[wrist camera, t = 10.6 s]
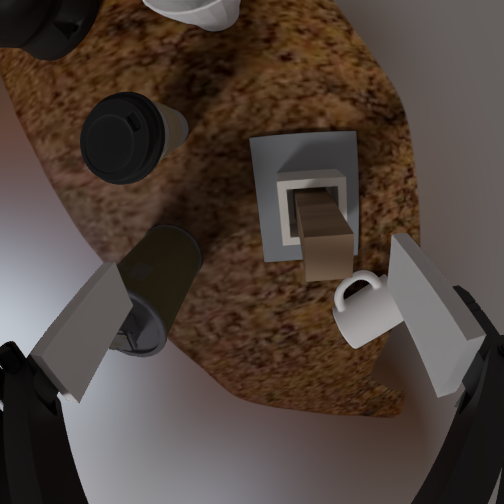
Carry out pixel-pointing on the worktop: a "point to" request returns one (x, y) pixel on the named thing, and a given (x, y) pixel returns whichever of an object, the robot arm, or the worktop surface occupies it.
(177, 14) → the cup
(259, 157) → the mat
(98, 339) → the robot arm
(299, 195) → the brown wooden block
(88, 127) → the coffee cup
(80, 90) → the worktop surface
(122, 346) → the canister
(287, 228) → the white square holder
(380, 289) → the mug
